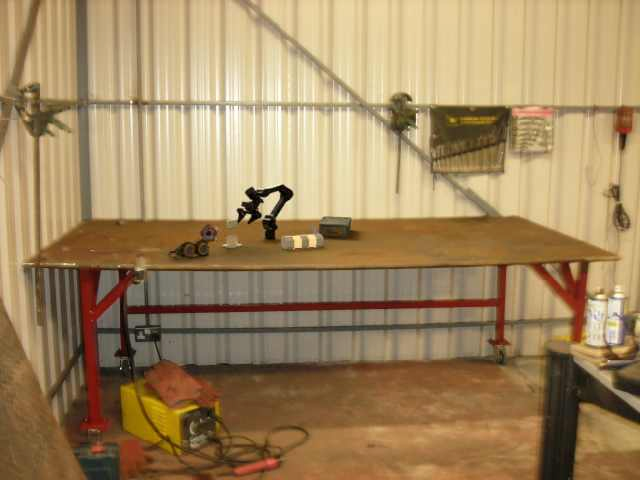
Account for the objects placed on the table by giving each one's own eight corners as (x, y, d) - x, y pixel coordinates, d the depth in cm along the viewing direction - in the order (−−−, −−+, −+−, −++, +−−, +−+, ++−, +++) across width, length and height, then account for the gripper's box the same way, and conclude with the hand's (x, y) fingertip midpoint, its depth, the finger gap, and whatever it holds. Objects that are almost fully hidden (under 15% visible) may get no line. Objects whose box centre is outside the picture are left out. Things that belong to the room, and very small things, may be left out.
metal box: (351, 230, 479) (352, 216, 477) (348, 238, 447) (348, 224, 445) (322, 229, 481) (322, 216, 479) (317, 237, 449) (317, 223, 447)
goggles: (195, 247, 411) (194, 232, 408) (220, 254, 396) (220, 237, 394) (163, 255, 392) (162, 239, 390) (188, 262, 378) (188, 245, 376)
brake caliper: (199, 238, 430) (199, 221, 435) (200, 245, 439) (200, 229, 445) (217, 237, 431) (217, 221, 436) (217, 245, 441) (217, 229, 446)
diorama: (317, 244, 427) (317, 224, 424) (323, 247, 418) (323, 227, 415) (280, 247, 417) (280, 227, 414) (286, 250, 408) (286, 229, 405)
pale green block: (234, 227, 418) (234, 219, 417) (237, 227, 416) (237, 219, 415) (226, 228, 412) (226, 220, 411) (229, 229, 411) (229, 220, 410)
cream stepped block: (233, 244, 423) (233, 234, 422) (242, 245, 418) (242, 235, 417) (222, 246, 415) (221, 236, 414) (230, 248, 410) (230, 238, 409)
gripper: (237, 195, 428) (225, 214, 422) (258, 197, 416) (246, 217, 410) (247, 206, 436) (235, 224, 429) (267, 208, 424) (255, 227, 418)
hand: (242, 223), depth 421 cm, fingers open, 9 cm apart
